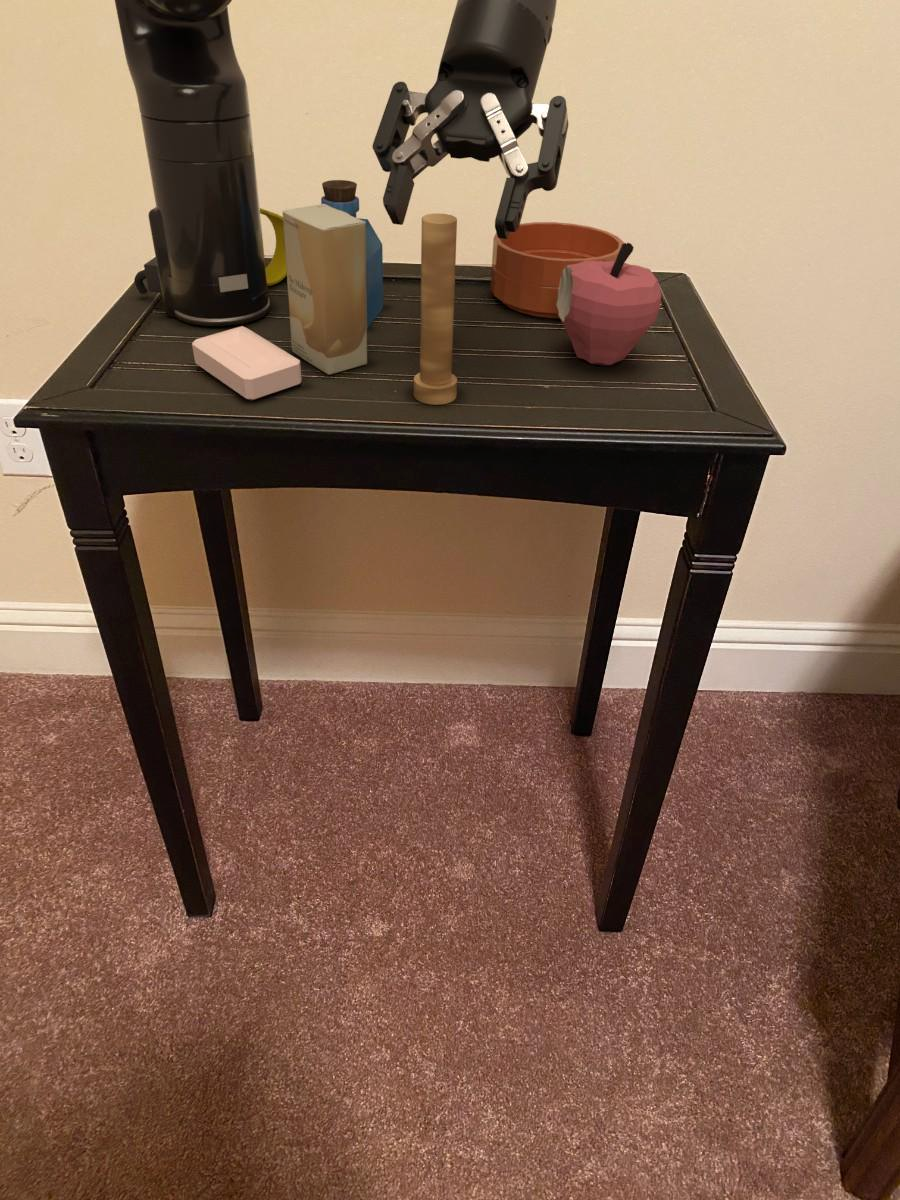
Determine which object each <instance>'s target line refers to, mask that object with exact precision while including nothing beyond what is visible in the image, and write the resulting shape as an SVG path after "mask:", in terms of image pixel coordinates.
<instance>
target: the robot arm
mask: <svg viewBox="0 0 900 1200" xmlns="http://www.w3.org/2000/svg"><path fill="white" fill-rule="evenodd" d="M232 2H233V0H114V5H115V9H116V15H117V20H118V25H119V30H120V35H121V40H122V46H123V52H124V56H125V61H126V65H127V67H128V71H129V75H130V77H131V80H132V83H133V86H134V89H135V90H134V91H135V93H136V99H137V103H138V109H139V113H140V120H141V126H142V132H143V137H144V144H145V149H146V153H147V154H146V155H147V160H148V166H149V172H150V177H151V178H150V179H151V184H152V190H153V195H154V202H155V207H153V208H151V209H150V211H148V216H147V217H148V222H149V227H150V233H151V239H152V245H153V250H154V255H155V256H154V257H153V258H151V259H150V260H149V261H147V262H146V263H144V264H143V268H144V269H142V270H139V271H138V272H137V273H136V274H135V276H134V279H133V282H134V285H135V287H136V289H137V291H138V293H139V294H140V295H145V294H147V293H148V292H150V293H159V294H161V295H162V302H163V307H164V313H165V317H172V318H173V317H174V318H176V319H178V320H180V321H182V322H184V323H187V324H189V325H190V324H191V325H195V326H203V327H231V326H238V325H244V324H248V323H251V322H254V321H257V320H259V319H261V318H263V317H264V316H266V315H267V314H268V313H269V312H270V310H271V301H270V300H271V299H270V298H269V286H268V285H267V279H266V270H265V269H266V259H265V250H264V240H263V239H264V238H263V229H262V219H261V214H260V208H261V207H260V198H259V191H258V190H259V188H258V180H257V169H256V161H255V160H256V159H255V149H254V141H253V130H252V129H253V128H252V120H251V114H250V112H251V110H250V102H249V101H250V99H249V91H248V90H249V89H248V85H247V81H246V77H245V75H244V73H243V70H242V69H241V66H240V64H239V60H238V57H237V55H236V52H235V47H234V44H233V43H234V42H233V37H232V32H231V31H232V30H231V24H230V16H229V8H228V6H229V5H230V4H231V3H232ZM557 3H558V0H457V1H456V6H455V8H454V12H453V16H452V18H451V23H450V26H449V31H448V33H447V37H446V41H445V44H444V48H443V51H442V55H441V58H440V61H439V66H438V72H437V77H436V81H435V83H434V84H433V85H432V87H431V88H430V89H429V91H427V93H423V92H417V91H411V90H409V88H408V85H407V83H406V82H404V81H397V82H395V83H394V84H393V85H392V88H391V90H390V93H389V95H388V99H387V102H386V105H385V107H384V111H383V113H382V116H381V120H380V122H379V125H378V128H377V131H376V134H375V136H374V139H373V142H372V145H371V146H372V150H373V152H374V154H375V157H376V159H377V161H378V163H379V165H380V167H381V170H382V171H383V172H386V173H389V176H388V179H387V182H386V187H385V189H384V193H383V196H382V203H383V207H384V209H385V211H386V213H387V215H388V217H389V220H390V221H391V223H392V224H393V225H399V226H402V225H404V223H405V219H406V217H407V212H408V208H409V205H410V201H411V198H412V195H413V191H414V186H415V182H414V179H416V177H417V176H419V175H420V174H421V173H422V172H424V171H425V170H426V169H427V168H428V167H431V168H433V167H435V166H436V165H438V164H439V163H440V162H441V161H442V160H443V159H445V158H446V157H447V156H448V155H449V157H450V158H451V159H458V160H461V159H469V158H472V159H474V160H476V161H479V162H486V163H489V162H490V160H491V159H495V158H496V157H498V158H499V160H500V162H501V165H502V167H503V169H504V171H505V173H506V175H507V176H508V177H506V178H505V182H504V185H503V188H502V189H503V190H502V193H501V198H500V201H499V204H498V209H497V212H496V215H495V219H494V229H495V234H496V233H497V236H498V238H502V239H508V237H509V234H510V232H516V230H517V229H518V228H519V226H520V224H521V222H522V218H523V214H524V210H525V207H526V203H527V200H528V197H529V194H530V193H532V192H533V191H535V190H536V191H537V190H539V189H542V190H543V191H546V192H550V191H553V190H554V189H555V188H556V187H557V184H558V180H559V175H560V169H561V164H562V160H563V154H564V151H565V150H564V149H565V145H566V140H567V134H568V130H569V116H568V107H567V101H566V98H565V96H563V95H555V96H553V97H552V98H551V99H550V100H549V103H533V99H534V96H535V91H536V88H537V84H538V81H539V78H540V77H539V76H540V73H541V70H542V66H543V62H544V59H545V55H546V51H547V47H548V45H549V44H550V41H551V38H552V34H553V25H554V21H555V16H556V9H557ZM422 114H427V116H426V117H424V118H423V119H422V120H421V121H420V122H419V123H417V120H418V118H420V116H421V115H422ZM533 124H535V125H536V126H537V129H538V134H539V136H541V144H540V149H539V154H538V159H537V161H534V162H530V163H527V161H526V159H525V157H524V154H523V153H522V151H521V148H520V146H519V144H518V141H517V140H518V139H519V138H520V137H521V136H522V135H523V134H524V133H525V132H527V131H528V130H529V129H530V128H531V127H532V125H533ZM410 126H411V127H414V128H413V129H412V131H411V132H412V133H411V136H409V137H408V138H407V135H408V132H409V129H410ZM434 136H436V137H437V140H436V141H435V142H433V143H432V139H433V137H434ZM406 138H407V139H406ZM144 280H146V285H147V287H146V285H145V284H144Z"/></svg>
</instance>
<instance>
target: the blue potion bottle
mask: <svg viewBox="0 0 900 1200" xmlns="http://www.w3.org/2000/svg"><path fill="white" fill-rule="evenodd" d="M321 186H322V191H323V194H324V195H323V196H321V198H320V201H321V202H320V204H326V205H328V206H330V207H332V208H335V209H337V210H341V211H343V212H346V213H348V214H349V215H351V216H353V217H355V218H358V219H360V220H362V221H365V222H366V291H367V329H369V327H370V326H371V325H372V323H373V322H374V321H375V319H376V318H377V317H378V315H379V314H380V313H381V311H382V310H383V309H384V263H383V261H384V260H383V259H384V258H383V254H384V253H383V242H382V241H381V239H380V238H379V236H378V234H377V232H376V231H375V229H374V228H373V226H372V224H371V223H370V221H369V219H368V218H360V217H357V213H358V212H360V197H358V196H356V193H357V188H358V184H357V182H355V181H352V180H347V179H332V180H326V181H323V182H322V183H321Z"/></svg>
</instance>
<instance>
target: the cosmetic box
mask: <svg viewBox="0 0 900 1200" xmlns="http://www.w3.org/2000/svg"><path fill="white" fill-rule="evenodd" d="M282 217H283V224H284V239H285V253H286V268H287V276H286V282H287V296H288V308H289V309H288V310H289V311H288V312H289V325H290V341H291V351H292V352H293V353H294V354H295V355H297V356H298V357H300V358H301V359H302V360H304V361H306V362H307V363H308V364H310V365H312V366H314V367H315V368H317V369H318V370H320V371H321V372H323V373H325V374H327V375H329V376H330V375H333V374H334V375H335V374H337V373H340V372H344V371H347V370H351V369H354V368H359V367H361V366H365V365H367V364H368V328H367V291H366V222H365V221H362V220H360V219H361V218H360V219H358V218H359V217H356V218H355V217H353V216H351V215H349V214H348V213H346V212H343V211H341V210H337V209H335V208H332V207H330V206H328V205H326V204H321V203H319V204H314V205H308V206H302V207H296V208H291V209H286V210H282Z"/></svg>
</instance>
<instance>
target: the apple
mask: <svg viewBox="0 0 900 1200" xmlns="http://www.w3.org/2000/svg"><path fill="white" fill-rule="evenodd" d="M634 248H635V247H634V246H633V244H632V243H631V242H624V244H622V246H621V248H620V251H619V253H618V256H617V258H616V261H607V262H602V261H583V262H580V263H578V264H572V265H566V266H565V268H564V269H563V272H562V275H561V278H560V283H559V288H558V299H557V308H558V311H559V314H558V315H559V317H560V318H559V319H560V321H561V324H562V325H563V327H564V330H565V331H566V333H567V335H568V338H569V339H570V341H571V344H572V347H573V351H574V353H575V355H576V357H577V358H579V359H581V360H584V361H586V362H588V363H589V364H591V365H596V366H597V365H599V366H604V367H605V366H606V367H607V366H608V367H609V366H612V365H614V364H615V363H618V362H621V361H624V360H625V358H626V357H627V356H628V355H629V354H630V353H631V352H632V351H633V349H634V347H635V346H636V344H637V343H639V341H640V340H641V339H643V337H644V336H645V334H647V332H648V331H649V330H650V328H651V327H652V326H653V324H654V323H655V322H656V319H657V316H658V314H659V311H660V309H661V303H662V291H661V288H660V283H659V280H658V278H657V277H656V276H655V275H654V273H653V272H652V269H650V268H647V267H645V266H640V265H636V264H629V263H627V262H626V261H627V260H628V259H629V257H630V255H632V253H633V252H634Z"/></svg>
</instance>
